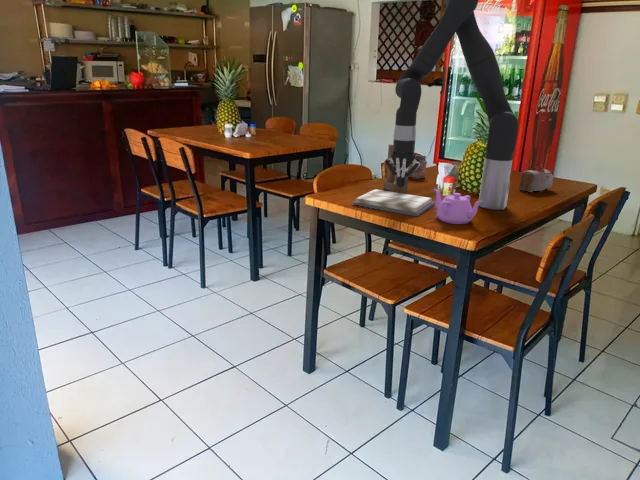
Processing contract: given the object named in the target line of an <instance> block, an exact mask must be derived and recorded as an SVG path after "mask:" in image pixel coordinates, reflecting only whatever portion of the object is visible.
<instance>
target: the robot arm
mask: <svg viewBox="0 0 640 480" xmlns="http://www.w3.org/2000/svg"><path fill="white" fill-rule="evenodd" d="M478 3H479V0H446V2H445V12H444V13H443V15H442V17H441V19H440V21H439V22H438V24H437V25H436V27H435V29H434V30H433V31H432V33H431V34H430V35H429V36H428V38H427V39H426V41H425V42H424V44H423V45H422V46H421V48H420V49H419V51H418V53H417V54H416V56H415V57H414V58H413V61H412V63H411V64H410V66H408V68H407V69H406V70H405V71H404V73H403V74H402V75H401V76H400V77H399V79H398V81H397V83H396V85H395V89H394V91H395V95H396V96H397V97H398V98H399V99H400V102H399V107H398V108H397V109H396V113H395V124H394V129H393V142H392V144H393V154H392V155H391V158H389V159H388V158H387V159H386V160H385V162H384V163H385V164H386V167H387V166H388V167H389V169H390V170H391V172H392V174H393V175H396V176H397V185H398V187H401V188H403V187H404V186H405V185H406V177H407V176H410V175H411V174H412V173H413V172H414V171H415V170H416V169H417V168H418V167H419V166H420V165H421V163H420V162H417V161H416V160H415V156H416V155H415V149H416V148H415V147H416V136H417V129H416V128H417V126H416V125H417V113H418V109H419V106H420V103H421V97H422V84H421V82H422V80H424V78H427V77H428V76H429V75H430V74H431V73H432V71H433V70H434V68H435V67H436V65H437V64H438V62H439V60H440V59H441V56H443V53H444V52H445V51H446V48H447V47H448V45H449V44H450V42H451V40H452V38H453V37H454V35H455V34H456V36H457V39H458V41H459V45H460V49H461V52H462V55H463V58H464V61H465V64H466V67H467V69H468V73H469V75H470V78H471V81H472V82H473V83H472V84H473V85H474V87H475V89H476V91H477V93H478V94H479V96H480V98H481V100H482V103H483V104H484V108H485V112H486V115H487V120H488V125H489V127H488V134H487V140H486V141H487V142H486V149H485V152H484V153H485V155H484V160H483V161H484V162H483V169H482V177H481V181H480V188H479V189H480V191H479V196H478V197H479V198H478V201H483V202H481V203H480V204H479V206H478V207H481V208H483V209H488V210H501V211H502V210H504V209H506V207H507V204H508V198H509V197H508V196H509V191H510V187H511V186H510V185H511V180H510V178H511V173H512V167H513V166H512V164H513V159H514V154H515V151H516V147H517V139H518V134H519V126H520V123H519V120H518V118H517V116H516V115H515V114H514V111H513V109H512V108H511V106H510V103H509V101H508V99H507V96H506V94H505V93H506V92H505V89H504V84H503V79H502V74H501V70H500V66H499V63H498V60H497V57H496V54H495V52H494V50H493V48H492V46H491V44H490V43H489V42H488V40H487V39H486V38H485V36H484V35H483V33H482V32H481V30H480V28H479V25H478V23H477V18H476V15H475V10H476V9H477V6H478ZM393 161H394V163H395V165H396V168H395V166H394V164H393ZM412 162H413V164H412ZM411 164H412V166H413V167H412V168H411V169H410V170H409V171H408V167H409V166H410V165H411ZM407 171H408V172H407Z"/></svg>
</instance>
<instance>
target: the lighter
mask: <svg viewBox="0 0 640 480" xmlns="http://www.w3.org/2000/svg"><path fill="white" fill-rule="evenodd" d="M426 158H427V155H419V154H416V155H415V160H416V161H417V162H420V163H421V165H420V166H419V167H418V168H417V169H416V170H415V171H414V172H413V173H412V174H411V175H410V176H408V177H416V178H415V179H419V178H425V177H427V176H426V171H427V163H428V161H427V160H426ZM412 164H413V162H412ZM412 164H411V165H410V166H409V170H410V169H411V168H412V167H413V166H412ZM425 179H426V178H425Z"/></svg>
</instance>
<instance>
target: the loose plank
mask: <svg viewBox="0 0 640 480" xmlns="http://www.w3.org/2000/svg"><path fill="white" fill-rule="evenodd" d="M365 194H371V195H378V196H384V197H390V198H397V199H403V200H409V201H415V202H422V203H424V207H425V206H426V205H428V204H429V203H431V201H432V199H433V198H432V197H427V196H422V195H421V196H420V195H415V194H408V193H407V194H402V193H396V192H391V191H388V190H382V189H376V188H375V189H372V190H370V191H368V192H366V193H365Z"/></svg>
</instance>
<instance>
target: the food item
mask: <svg viewBox="0 0 640 480" xmlns="http://www.w3.org/2000/svg"><path fill="white" fill-rule="evenodd" d="M530 169H531V170H530ZM530 169H529V170H523V171H522V172H521V175H520V180H519V184H518V191H520V190H524V191H529V192H531V193H534V192H533V191H539V190H543V191H546V190H545V189H547V190H548V189H550V188H551V187H552V186H553V182H554V175H553V174H552V171H550V170H548V169H545V168H544V167H542V166H541V167H539V166H532V167H531V168H530ZM524 191H523V192H524Z"/></svg>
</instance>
